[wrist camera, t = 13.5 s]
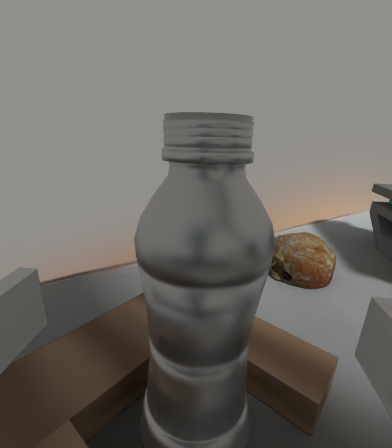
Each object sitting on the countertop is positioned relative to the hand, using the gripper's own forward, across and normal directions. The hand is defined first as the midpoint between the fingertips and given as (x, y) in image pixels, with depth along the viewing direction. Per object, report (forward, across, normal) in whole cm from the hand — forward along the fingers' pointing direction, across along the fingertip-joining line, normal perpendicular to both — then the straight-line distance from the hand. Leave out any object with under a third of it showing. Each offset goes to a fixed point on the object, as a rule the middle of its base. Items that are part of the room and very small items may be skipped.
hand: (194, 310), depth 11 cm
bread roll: (+28, +13, -13) cm, 34 cm away
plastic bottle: (+3, 0, -13) cm, 13 cm away
